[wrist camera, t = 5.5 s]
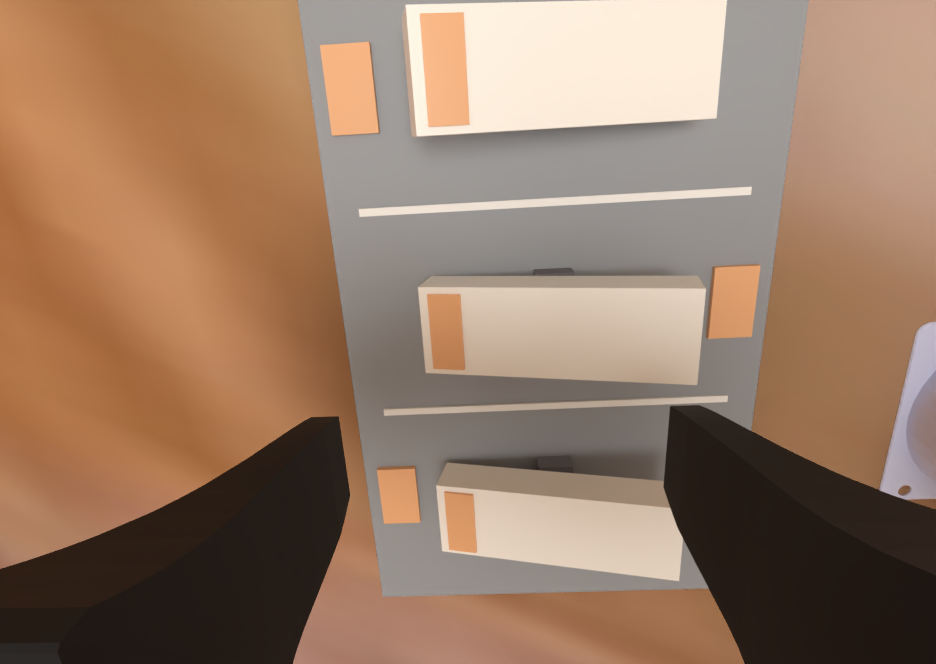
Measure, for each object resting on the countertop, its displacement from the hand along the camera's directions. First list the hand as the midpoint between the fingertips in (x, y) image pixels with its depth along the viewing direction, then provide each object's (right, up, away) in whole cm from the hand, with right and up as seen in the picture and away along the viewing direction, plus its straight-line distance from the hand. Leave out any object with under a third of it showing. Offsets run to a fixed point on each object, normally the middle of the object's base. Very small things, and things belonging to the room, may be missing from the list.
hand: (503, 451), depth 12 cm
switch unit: (+2, +4, +8) cm, 10 cm away
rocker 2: (+2, +3, +5) cm, 6 cm away
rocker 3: (+2, -4, +7) cm, 9 cm away
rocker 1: (+2, +10, +3) cm, 10 cm away
